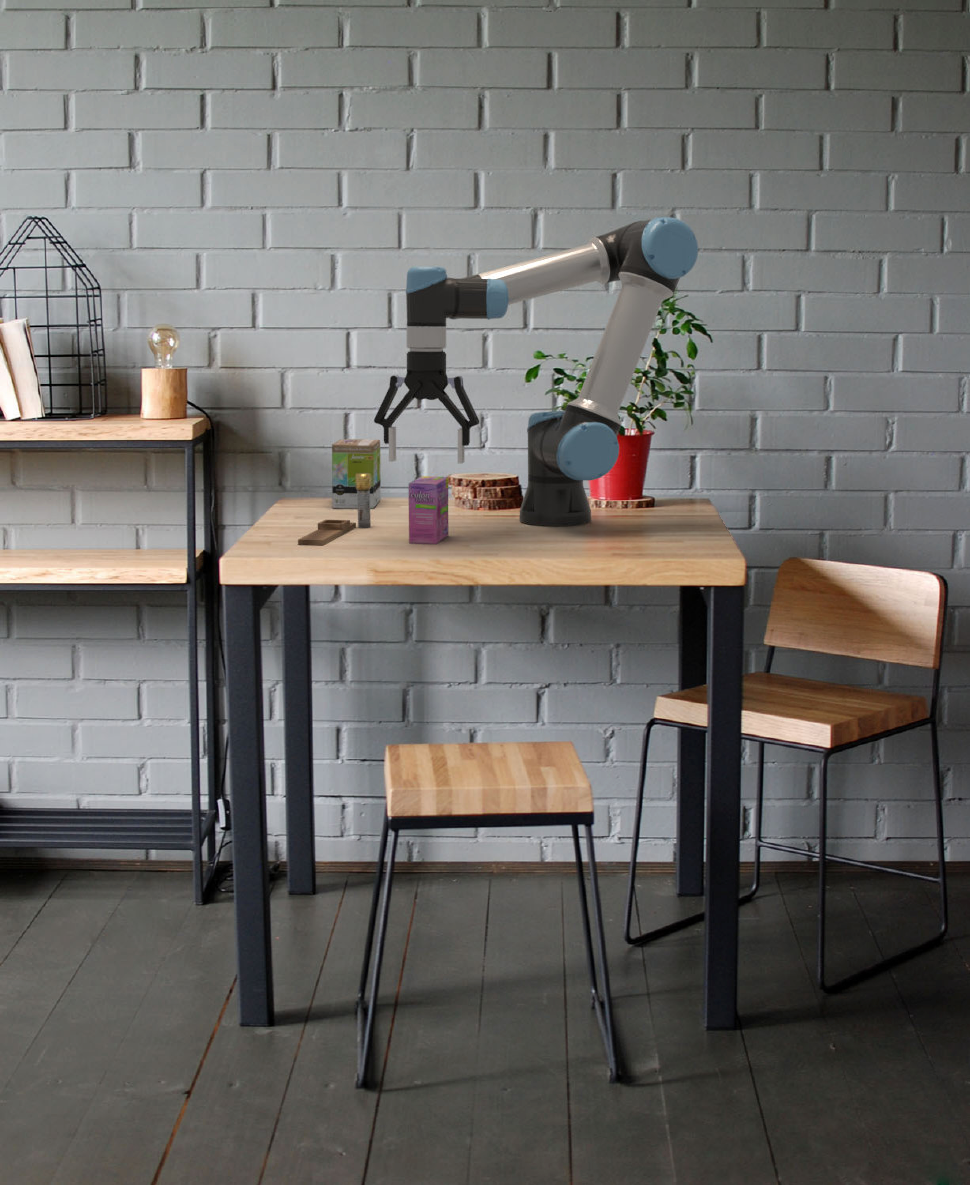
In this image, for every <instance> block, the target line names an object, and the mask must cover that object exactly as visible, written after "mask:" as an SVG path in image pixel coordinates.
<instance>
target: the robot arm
mask: <svg viewBox="0 0 970 1185" xmlns="http://www.w3.org/2000/svg"><path fill="white" fill-rule="evenodd" d="M698 255H699V243H698V240H697V238H696V235H695V233H694V231H693V229H692V228H691V227H690V225H689V224H687V222H684V221H683V220H682V219H680V218H675V217H668V216H657V217H655V218H652V219H646V220H639V221H634V222H632V223H628V224H627V225H624V226H621V227H619V228H617V229H614V230H611V231H610V232H607V233H605V234H601V235H598V236H594V237H591V238H589V241H588V243H587V244H584V245H579V246H576V247H572V248H568V249H565V250H562V251H558V252H554V253H550V254H547V255H543V256H539V257H536V258H531V259H527V260H525V261H520V262H517V263H513V264H510V265H506V266H502V267H498V268H494V269H491V270H488V271H483V272H480V273H476V274H473V275H469V276H465V277H462V278H454V277H448V275H447V269H446V268H445V267H442V266H413V267H412V266H411V267H410V268H409V269H408V270H407V272H406V273H407V274H406V286H405V287H406V288H405V294H406V295H405V297H406V348H407V349H409V351H407V352H406V374H405V376H399V375H397V374H394V375H391V376H390V377H389V379H390V380H389V387H388V389H387V391H386V393H385V396H384V398H383V400H382V401H381V404H380V407H379V408H378V410H377V412H376V414H375V417H374V420H373V423H375V424H378V425H381V426H382V428H383V443H384V444H385V445H386V444H388V462H390V463H392V462H395V461H397V426H393V425H394V423H395V421H396V420H397V419H398V418H399V417H400V415H401V414H402V413H403V412H404V411H405V410H406V408H407V407H408V406H409V405H410V403H412V401H413V400H414V399H416V400H420V401H421V400H430V401H434V400H437V399H438V400H439V401H440V402H441V404H442V405H443V406H444V407H445V408H446V410H447V411H448V412H449V413H450V414H451V416H452V418H454V419H455V421H456V422H457V423H458V425H459V426H460V428H457V464H463V463H465V447H467V446H470V441H471V439H470V438H471V437H470V436H471V428H472V427H475V426H478V425H479V424H480V419H479V416H478V414H477V413H476V411H475V409H474V407H473V404H472V403H471V400H470V399H469V396H468V394H467V391H466V390H465V387H464V381H463V380H464V379H463V377H462V376H461V375H458V376H455V377H454V376H453V377H448V375H447V353H446V352H445V351H444V349H446V348H447V319H450V320H458V319H463V320H464V319H469V320H470V319H471V320H473V319H474V320H475V319H476V320H477V319H478V320H491V319H492V320H494V319H502V318H504V316H506V314H507V311H508V307H509V306H510V305H514V304H518V303H520V302H524V301H529V300H531V299H535V298H539V297H542V296H546V295H550V294H553V293H557V292H561V291H564V290H568V289H572V288H575V287H580V286H583V285H586V284H590V283H591V284H592V283H595V282H598V283H599V284H601V285H605V284H609V283H613V282H620V283H621V287H620V290H619V293H618V295H617V297H616V301H615V303H614V306H613V309H612V311H611V314H610V316H609V318H608V321H607V323H606V325H605V328H604V331H603V334H602V335H601V336H602V337H601V338H600V341H599V344H598V347H597V349H596V352H595V353H594V356H593V359H592V361H591V364H590V367H589V370H588V371H587V374H586V376H585V379H584V382H583V385H582V387H581V390H580V392H579V395H578V397H577V398H576V399H574V400H572V401H570V402H568V403H567V405H566V406H565V409H564V410H554V411H553V410H552V411H540V412H535V413H531V414H530V415H529V417H528V419H527V420H528V422H527V429H526V432H527V487H526V491H525V493H524V496H523V500H522V502H521V505H520V509H519V521H520V522H521V523H523V524H527V525H535V526H536V525H537V526H550V527H551V526H552V527H553V526H554V527H556V526H558V527H559V526H563V527H565V526H575V525H576V526H577V525H584V524H588V523H590V522H591V521H592V509H591V506H590V503H589V499H588V496H587V494H586V490H585V487H584V481H595V480H598V479H601V478H603V477H604V476H605V475H607V474H608V473H609V472H610V471H611V470H612V469H613V468H614V467H615V465H616V463H617V461H618V458H619V454H620V444H619V441H618V435H619V432H620V430H621V427H622V422H621V419H620V417H619V416H620V415H619V411H620V409H621V407H622V404H623V401H624V400H625V399H624V398H625V396H626V394H627V391H628V389H629V386H630V384H631V382H632V379H633V377H634V373H635V372H636V368H637V366H638V363H639V360H640V359H641V356H642V353H643V351H644V349H645V346H646V343H647V341H648V338H649V336H650V333H651V331H652V328H653V327H654V326H653V325H654V323H655V321H656V319H657V315H658V313H659V311H660V308H661V305H662V303H663V301H665V300H667V299H670V298H671V297H673V296H674V294H675V292H676V289H677V286H678V283H679V282H680V279H681V278H682V277H685V276H686V275H687V274H688V273H690V272H691V270H692V269H693V268H694V266H695V264H696V262H697V260H698ZM403 384H404V385H405V386H406V388H407V389H408V391H407V392H406V394H405V395H404V396H403V398H402V399H401V400H400V402H398V404H397V405H396V407H394V409H393V410H392V411H391V413H390V414H389V415H388V416H387V413H388V411H389V410H390V407H391V405H392V404H393V401H394V399H395V397H396V394H397V392H398V390H399V388H401V387H402V385H403ZM448 385H450V387H451V388H452V389H454V391H455V393H456V396H457V398H458V399H459V402H460V404H461V406H462V407H463V410H464V411H465V414H466V416H467V418H468V419H467V418H466V416H465V415H464V414H463V413H462V412H461V410H460V409H459V408H458V407H457V406H456V404H455V403H454V402H453V400H452V399H451V398H450V396H449V395H448V393H447V392H446V390H445V389H446V388H447V387H448ZM386 416H387V417H386Z"/></svg>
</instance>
